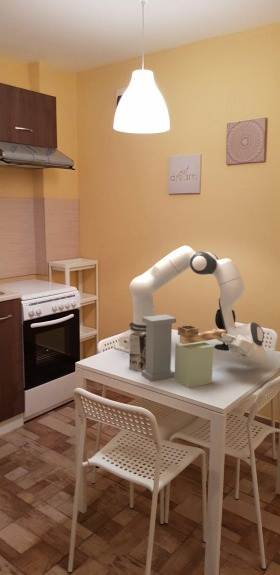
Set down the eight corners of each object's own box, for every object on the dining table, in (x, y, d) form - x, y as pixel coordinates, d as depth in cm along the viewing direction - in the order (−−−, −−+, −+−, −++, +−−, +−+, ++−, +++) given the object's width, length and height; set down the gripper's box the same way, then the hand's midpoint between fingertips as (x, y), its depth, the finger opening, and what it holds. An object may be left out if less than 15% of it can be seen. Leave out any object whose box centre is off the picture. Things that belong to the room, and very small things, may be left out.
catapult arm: (219, 334, 195) (219, 320, 194) (228, 338, 190) (228, 323, 189) (177, 341, 185) (177, 326, 184) (185, 345, 179) (186, 329, 178)
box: (197, 375, 195) (198, 339, 193) (211, 382, 187) (213, 346, 184) (174, 379, 190) (175, 343, 187) (188, 387, 181) (189, 350, 178)
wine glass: (219, 343, 243) (221, 307, 239) (237, 347, 237) (239, 310, 233) (210, 347, 235) (211, 310, 231) (228, 351, 228) (230, 313, 225)
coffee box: (141, 371, 199) (141, 336, 196) (128, 368, 202) (129, 334, 199) (150, 365, 207) (151, 331, 204) (138, 362, 210) (139, 329, 207)
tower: (164, 370, 200) (165, 314, 196) (174, 376, 193) (176, 318, 189) (141, 375, 194) (142, 317, 190) (150, 381, 187) (151, 321, 183)
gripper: (226, 332, 207) (206, 321, 200) (257, 344, 189) (237, 332, 182) (220, 345, 206) (200, 333, 199) (251, 357, 189) (230, 346, 182)
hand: (217, 333), depth 191 cm, fingers closed on catapult arm, 3 cm apart
